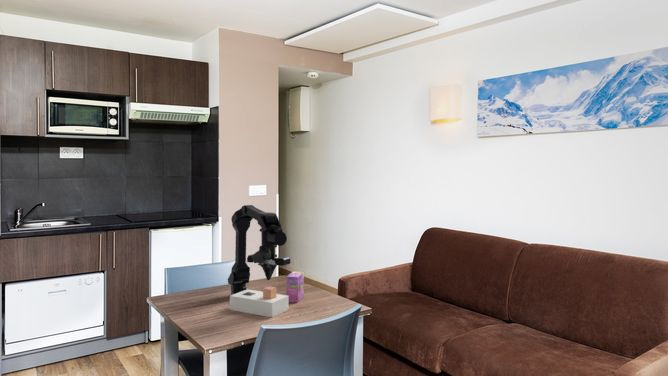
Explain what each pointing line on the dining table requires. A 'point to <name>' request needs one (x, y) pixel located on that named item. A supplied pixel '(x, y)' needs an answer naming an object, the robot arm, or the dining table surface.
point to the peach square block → (269, 292)
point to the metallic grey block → (248, 294)
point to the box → (295, 286)
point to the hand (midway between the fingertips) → (268, 280)
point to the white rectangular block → (259, 303)
